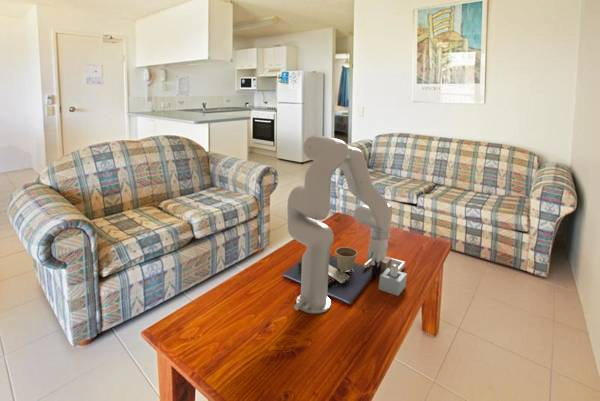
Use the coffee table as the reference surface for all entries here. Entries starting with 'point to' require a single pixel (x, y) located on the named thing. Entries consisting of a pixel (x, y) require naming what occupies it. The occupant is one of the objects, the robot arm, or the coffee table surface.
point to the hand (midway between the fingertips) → (375, 273)
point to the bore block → (392, 282)
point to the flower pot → (345, 258)
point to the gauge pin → (394, 270)
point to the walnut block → (385, 264)
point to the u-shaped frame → (394, 261)
